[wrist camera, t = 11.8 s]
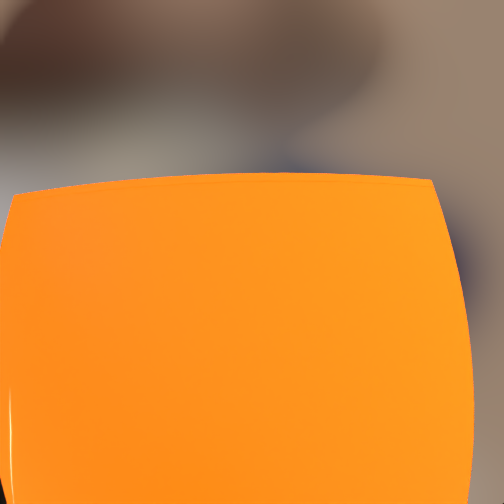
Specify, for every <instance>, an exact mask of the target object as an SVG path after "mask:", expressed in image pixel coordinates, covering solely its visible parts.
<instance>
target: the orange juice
mask: <svg viewBox="0 0 504 504" xmlns="http://www.w3.org/2000/svg"><path fill="white" fill-rule="evenodd" d="M473 436H474V390H473V371H472V360H471V348H470V339H469V331H468V325H467V317H466V311H465V306H464V300H463V294H462V289H461V284H460V279H459V274H458V270H457V266H456V261H455V257H454V253H453V249H452V245H451V241H450V238H449V234H448V230H447V227H446V224H445V220H444V217H443V214H442V211H441V207H440V204H439V202H438V199H437V196H436V193H435V190H434V187H433V184H432V181H431V180H425V179H413V178H401V177H387V176H370V175H349V174H320V173H318V174H317V173H244V174H243V173H242V174H211V175H191V176H173V177H159V178H146V179H134V180H123V181H114V182H104V183H95V184H87V185H79V186H71V187H63V188H56V189H50V190H43V191H37V192H30V193H24V194H19V195H14V197H13V201H12V204H11V207H10V211H9V215H8V218H7V222H6V226H5V230H4V234H3V239H2V243H1V248H0V478H1V482H2V486H3V490H4V494H5V497H6V501H7V504H467V503H468V501H467V499H468V491H469V484H470V476H471V467H472V455H473V438H474V437H473Z"/></svg>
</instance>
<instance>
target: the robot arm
mask: <svg viewBox="0 0 504 504" xmlns="http://www.w3.org/2000/svg"><path fill="white" fill-rule="evenodd" d="M0 504H7V501H6V497H5V494H4V490H3V486H2V482H1V478H0ZM503 504H504V503H503Z"/></svg>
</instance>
